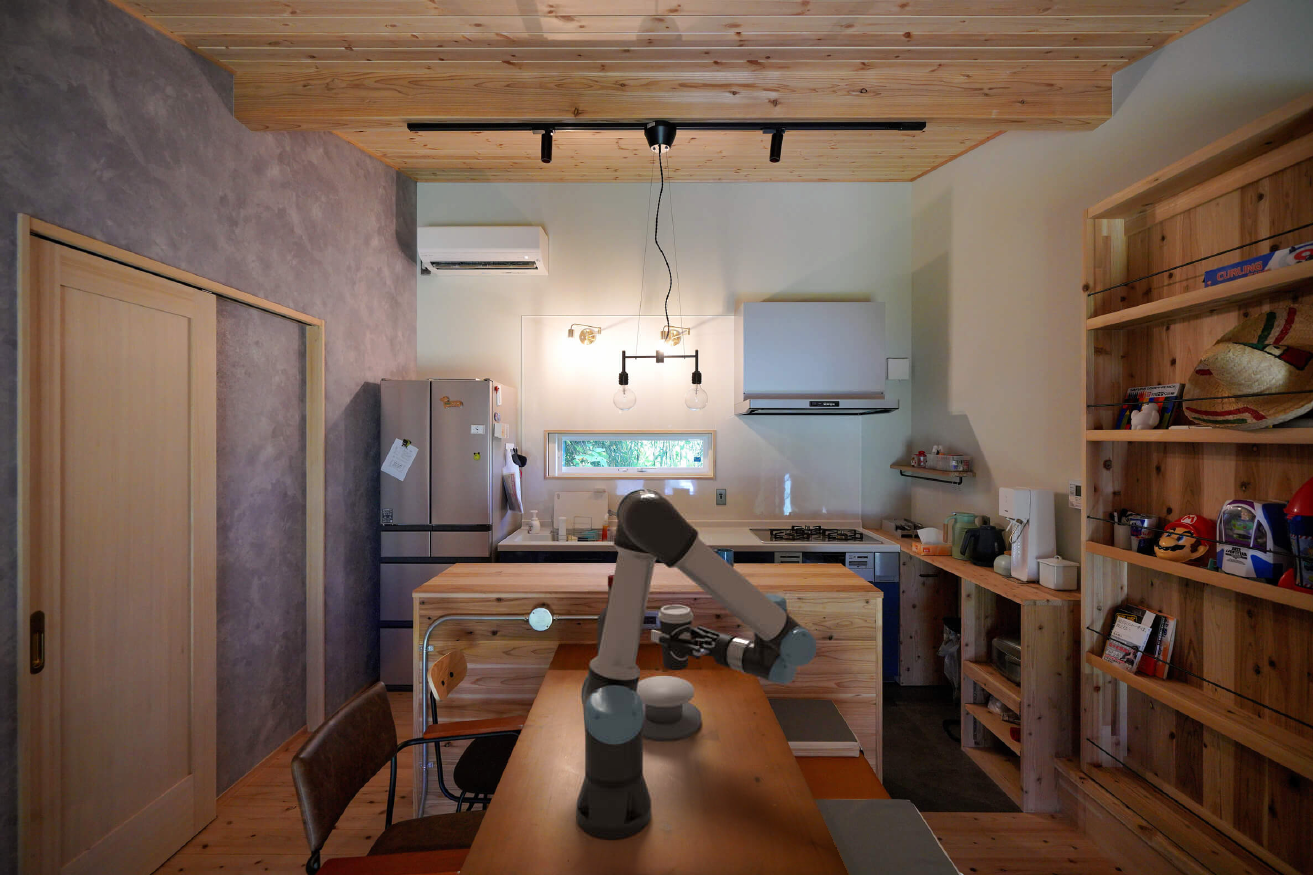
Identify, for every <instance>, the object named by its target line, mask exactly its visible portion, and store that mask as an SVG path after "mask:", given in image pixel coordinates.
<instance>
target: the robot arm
mask: <svg viewBox="0 0 1313 875" xmlns="http://www.w3.org/2000/svg"><path fill="white" fill-rule="evenodd" d="M616 518H617V524H616V528H615V535H614V540H613V546H614V547H615V550H616V551H617V552H618V554H617V558H616V564H615V569H614V574H613V575H614V578H613V583H612V588H611V594H610V599H609V604H608V609H607V614H606V619H605V624H604V629H603V634H602V639H601V644H600V649H599V655H598V656H597V655H596V656H595V657H594V658H593V659H591V660H590V662H589V666H588V672H587V675H586V677H585V679H584V682H583V684H582V688H581V704H582V711H583V721H584V738H585V739H584V747H585V748H584V749H585V750H584V756H585V759H584V763H585V764H584V765H585V766H584V767H585V768H584V778H583V782H582V785H581V787H580V791H579V793H578V796H577V801H576V807H575V808H576V810H575V812H576V815H575V816H576V817H575V818H576V822H577V824H578V826H579V827H580V828H581V829H582V831H584V832H585V833H586V834H588V835H590V836H592V837H595V838H598V839H604V840H617V839H618V840H619V839H623V838H628V837H631V836H633V835H635V834H637V833H638V832H640V831H641V830H643V829H644V828H645V827H646V826H647V825H648V823H649V822H650V820H651V817H652V798H651V795H650V792H649V789H648V785H647V783H646V779H645V775H644V770H643V767H644V766H643V764H644V761H643V760H644V753H643V752H644V751H643V750H644V747H643V746H644V742H643V741H644V739H643V721H644V711H643V705H642V701H641V698H640V697H639V695H638V694H637V693H636V692H637V687H638V682H640V676H641V670H640V667H639V666H638V665H637V664H636V661H637V656H638V651H639V646H640V641H641V635H642V631H643V626H644V620H645V616H646V609H647V604H648V599H649V595H650V590H651V585H652V579H653V575H654V574H653V573H654V569H655V564H656V561H657V560H658V561H660V562H661V563H662V564H663V565H665V566H666V567H667V568H669V569H673V568H676V569H677V570H679V571H680V572H681V573H682V574H684V575H685V576H686V577H687V578H688V579H689V580H691V582H693V583H694V584H696V585H697V586H698V587H700V589H702V591H704V592H705V593H706V594H707V595H709V596H710V597H711V598H712V599H714V600H715V601H716V602H717V603H719V604H720V606H722V607H723V608H724V609H726V610H727V611H728V612H729V613H731V615H733V616H734V617H736V619H738V620H739V621H740V622H742V623H743V624H744V625H745V626H746V627H747V628H748V629H750V630H751V631H752V632H753V640H751V639H748V638H744V637H740V636H739V637H738V636H736V635H731V634H727V633H722V632H718V631H716V630H713V629H710V628H707V627H704V626H700V625H697V626H696V627H695V626H691V633H690V639H682V638H674V637H672V634H670V635H666V634H664V633H662V632H661V631H658V630H656V629H652V630H651V632H650V640H651V642H654V643H658V644H661V645H662V644H664V645H667V651H671V652H675V653H679V654H683V655H687V656H688V657H691V658H694V659H696V660H701V658H702V655H704V656H706V657H712V658H713V659H714V662H715V663H716V665H720V666H723V667H725V668H731V669H733V670H735V671H739V672H742V674H748V675H751V676H755V677H757V678H760V679H763V680H766V681H769V682H772V683H776V684H780V685H788V684H790V683H791V682H792V681H793V680H794V678H795V676H796V673H797V668H798V667H802V666H805V665H807V664H809V663H810V662H811V661H812V660H814V657H815V656H816V653H817V649H818V648H817V647H818V646H817V640H816V639H815V637H814V635H812V634H811V632H810V631H809V630H808V629H807V628H805V627H804V626H803V625H801V624H800V623H799V622H797V620H795V619H794V618H793V617H791V615H789V614H788V613H787V612H788V607H787V599H786V598H784V597H783V596H780V595H777V594H773V593H772V594H771V593H765V594H764V592H762V591H761V590H760V589H759V588H758V587H756V586H755V585H754V584H753V583H752V582H750V580H748V579H747V578H746V577H745V576H743V575H742V574H741V573H740V572H739V571H737V570H736V569H735V567H733V566H732V565H731V564H730V563H728V561H726V560H724V559H723V558H722V557H721V555H719V554H717V552H716V551H714V550H713V549H712V548H711V547H710V546H708V545H707V544H706V543H705V542H703V541H702V540H701V539H700V536H699V535H700V534H699V531H698V530H697V529H696V528H694V527H693V526H692V525H691V524H690V523H689V522H688V521H687V520H686V519H685V518H684V517H683V516H682V515H681V513H680V512H679V511H678V510H677V509H676V507H675V506H674V505H673V504H672V503H671V502H670V501H669V500H668V499H667V498H665V497H664V496H663V495H662V494H660V493H659V492H658V491H656V490H653V489H650V488H649V489H648V488H647V489H646V488H640V489H635V490H632V491H630V492H628V493H627V494H625V496H623V498H622V499H621V501H620V502H619V504H618V507H617V510H616Z"/></svg>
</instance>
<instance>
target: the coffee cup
mask: <svg viewBox="0 0 1313 875" xmlns="http://www.w3.org/2000/svg"><path fill="white" fill-rule="evenodd" d="M659 610H660V611H659V612H658V615H657V619H658V620H659V629H660V632H662V633H664V634H666V635H670V634H672V637H674V638H682V639H690V640H691V635H690V633H691V628H692V621H693V620H694V614H693V612H692V611H691V608H690V607H689V606H686V605H682V604H670V605H664V606H662V607H661V608H660V609H659ZM661 651H662V652H661V653H662V662H663V664H662V665H663V667H664V669H667V670H670V671H683V670H685V669H687V667H689V656H687V655H683V654H679V653H675V652H671V651H667V645H664V644H661Z"/></svg>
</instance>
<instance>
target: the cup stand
mask: <svg viewBox="0 0 1313 875" xmlns="http://www.w3.org/2000/svg"><path fill="white" fill-rule="evenodd" d="M636 693H637V694H638V695H639V697H640V698H641V701H642V705H643V711H644V721H643V738H644V739H647V740H651V741H656V742H657V741H658V742H671V741H678V740H683V739H685V738H688V737H690V736H693V735H694V734H696V733H697V731H699V730H700V728H701V726H702V713H701V711H700V709H699V708H698V707H697V706H696V705H694V704H692V703H691V702H690V701H691V700H692V699H693V698H694V696H695V689H694V686H693V685H692V683H690V682H689V681H688V680H686V679H683V678H681V677H676V676H669V675H658V676H657V675H656V676H651V677H647V678H644V679H642V680H639V682H638V687H637V692H636Z"/></svg>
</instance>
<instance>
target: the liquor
mask: <svg viewBox="0 0 1313 875" xmlns="http://www.w3.org/2000/svg"><path fill="white" fill-rule="evenodd" d="M613 578H614V574H609V575H608V576H607V587H608V588H607V603H606V606H605V607H604V609H602V610H601V612H599V614H598V617H597V621H596V622H597V623H596V624H597V625H596V626H597V627H596V628H597V629H596V630H597V631H596V632H597V633H596V636H597V637H596V639H597V640H596V641H597V642H596V651H597V652H596V657H597V656H598V655H599V649H600V644H601V639H602V634H603V629H604V624H605V619H606V614H607V609H608V604H609V599H610V594H611V588H612V583H613Z"/></svg>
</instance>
